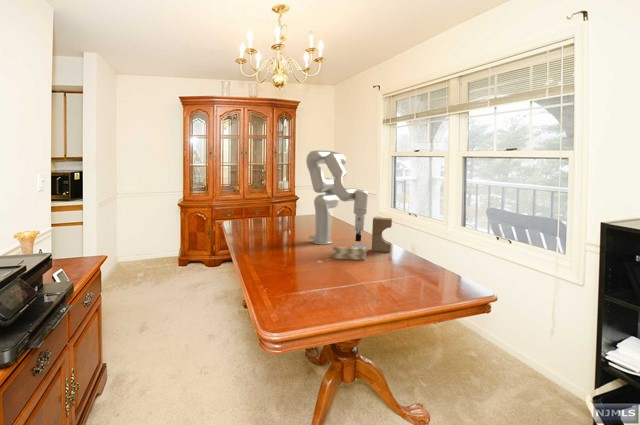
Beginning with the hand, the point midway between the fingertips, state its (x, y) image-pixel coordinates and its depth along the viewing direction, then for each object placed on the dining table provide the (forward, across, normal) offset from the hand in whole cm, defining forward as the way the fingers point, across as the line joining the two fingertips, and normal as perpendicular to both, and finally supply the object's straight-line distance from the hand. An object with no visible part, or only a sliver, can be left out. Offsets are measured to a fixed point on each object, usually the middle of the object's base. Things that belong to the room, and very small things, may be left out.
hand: (358, 241), depth 217 cm
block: (+6, -10, -2) cm, 12 cm away
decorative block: (+6, +4, -14) cm, 16 cm away
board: (+6, -16, +4) cm, 18 cm away
